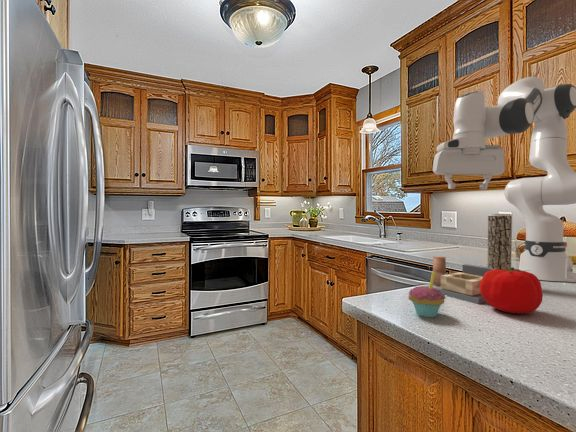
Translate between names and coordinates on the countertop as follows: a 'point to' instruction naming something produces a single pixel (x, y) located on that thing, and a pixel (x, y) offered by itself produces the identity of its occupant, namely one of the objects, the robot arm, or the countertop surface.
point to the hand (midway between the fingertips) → (467, 189)
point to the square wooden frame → (461, 283)
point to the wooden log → (499, 241)
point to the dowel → (439, 269)
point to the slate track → (474, 299)
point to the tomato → (511, 290)
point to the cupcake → (426, 299)
